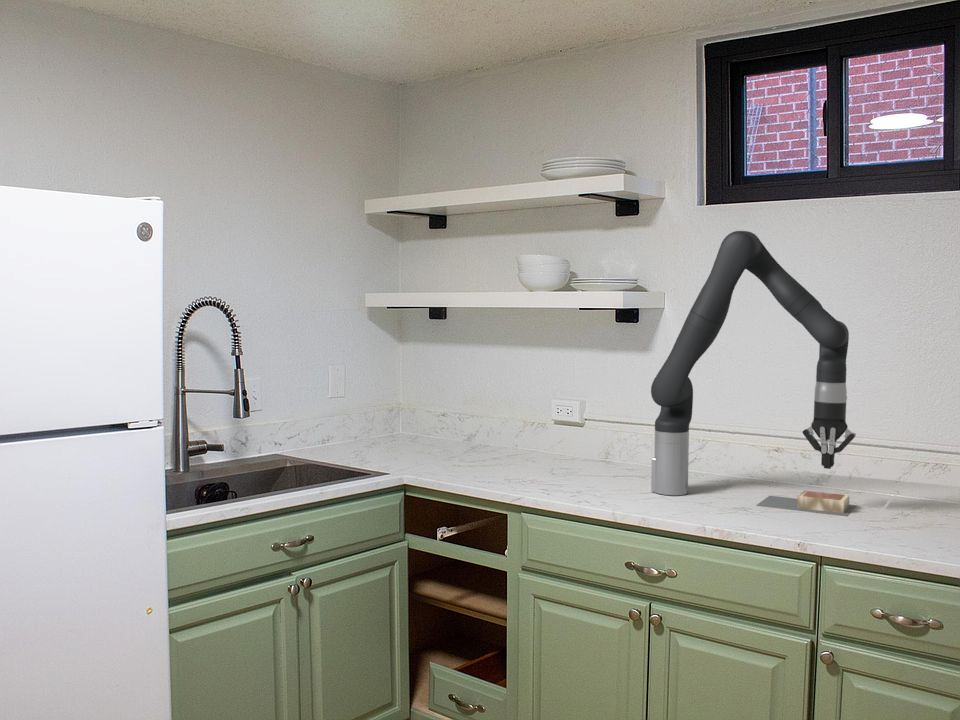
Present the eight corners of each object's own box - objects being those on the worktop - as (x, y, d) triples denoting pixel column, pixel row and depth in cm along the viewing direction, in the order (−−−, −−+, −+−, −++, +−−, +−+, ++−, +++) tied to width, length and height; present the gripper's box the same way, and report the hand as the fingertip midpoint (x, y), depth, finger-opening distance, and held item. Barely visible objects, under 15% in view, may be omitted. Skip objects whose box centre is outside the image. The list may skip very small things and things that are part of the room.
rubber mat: (755, 507, 232) (755, 505, 232) (769, 497, 244) (769, 495, 244) (847, 518, 221) (847, 516, 220) (856, 507, 232) (856, 505, 232)
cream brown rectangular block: (797, 495, 229) (843, 500, 224) (804, 490, 236) (849, 495, 230) (797, 507, 229) (843, 513, 224) (804, 501, 236) (849, 506, 231)
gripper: (799, 399, 228) (797, 467, 229) (855, 403, 221) (853, 473, 222) (805, 396, 234) (803, 463, 236) (860, 400, 228) (858, 468, 229)
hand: (827, 468), depth 229 cm, fingers closed
